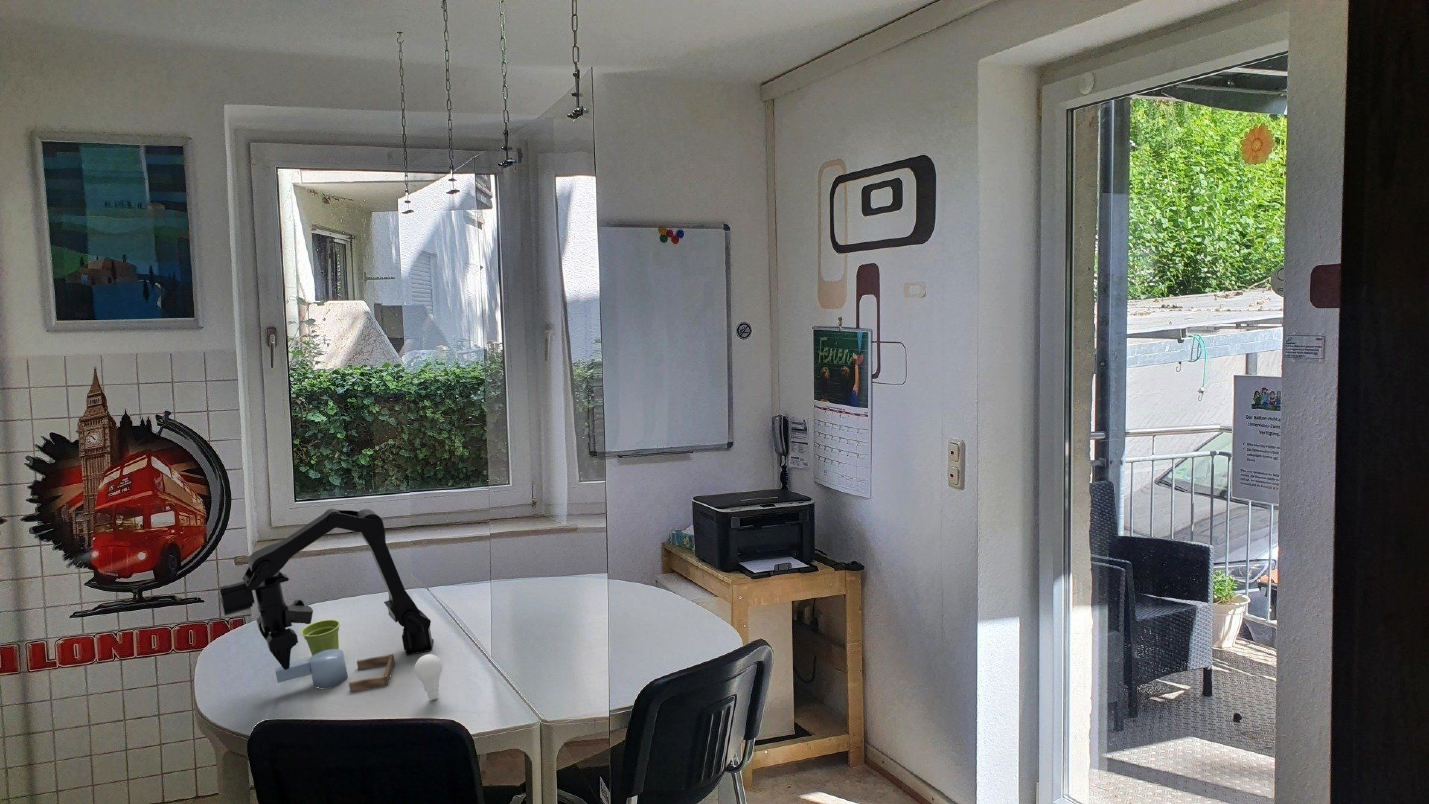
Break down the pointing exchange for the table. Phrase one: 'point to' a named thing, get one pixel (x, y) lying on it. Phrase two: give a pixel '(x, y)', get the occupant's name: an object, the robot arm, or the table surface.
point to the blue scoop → (318, 669)
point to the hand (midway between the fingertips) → (283, 662)
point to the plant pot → (322, 635)
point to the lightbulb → (429, 674)
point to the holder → (375, 681)
